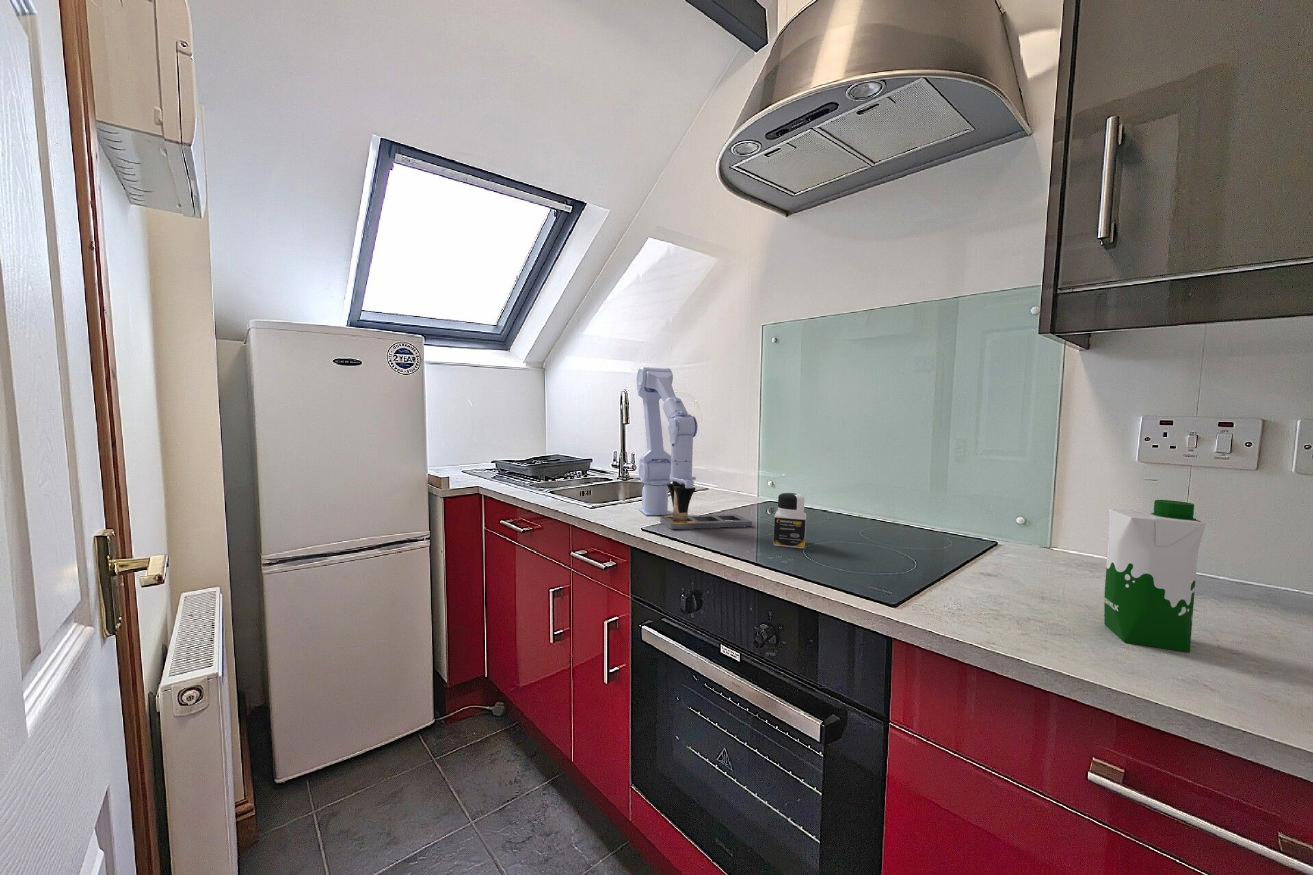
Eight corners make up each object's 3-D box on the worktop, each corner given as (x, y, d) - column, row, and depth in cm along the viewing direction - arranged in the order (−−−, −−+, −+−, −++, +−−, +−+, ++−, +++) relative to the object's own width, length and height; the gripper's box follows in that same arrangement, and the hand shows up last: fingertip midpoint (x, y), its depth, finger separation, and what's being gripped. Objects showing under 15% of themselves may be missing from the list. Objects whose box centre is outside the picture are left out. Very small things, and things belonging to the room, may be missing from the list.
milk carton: (1202, 657, 70) (1215, 508, 69) (1117, 643, 73) (1128, 502, 72) (1168, 632, 78) (1179, 499, 77) (1093, 621, 81) (1102, 493, 80)
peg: (670, 518, 143) (672, 489, 142) (684, 518, 144) (686, 489, 144) (675, 521, 139) (677, 491, 139) (689, 521, 140) (691, 491, 140)
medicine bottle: (772, 545, 122) (775, 494, 122) (775, 538, 129) (777, 490, 129) (804, 548, 120) (806, 497, 120) (805, 541, 127) (807, 492, 127)
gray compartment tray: (660, 521, 145) (660, 515, 145) (736, 519, 151) (736, 513, 151) (671, 529, 136) (671, 523, 135) (751, 526, 142) (752, 520, 142)
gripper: (705, 463, 135) (703, 515, 135) (686, 458, 149) (685, 505, 149) (679, 463, 133) (677, 516, 133) (663, 458, 147) (661, 506, 147)
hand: (680, 510), depth 141 cm, fingers closed on peg, 4 cm apart
